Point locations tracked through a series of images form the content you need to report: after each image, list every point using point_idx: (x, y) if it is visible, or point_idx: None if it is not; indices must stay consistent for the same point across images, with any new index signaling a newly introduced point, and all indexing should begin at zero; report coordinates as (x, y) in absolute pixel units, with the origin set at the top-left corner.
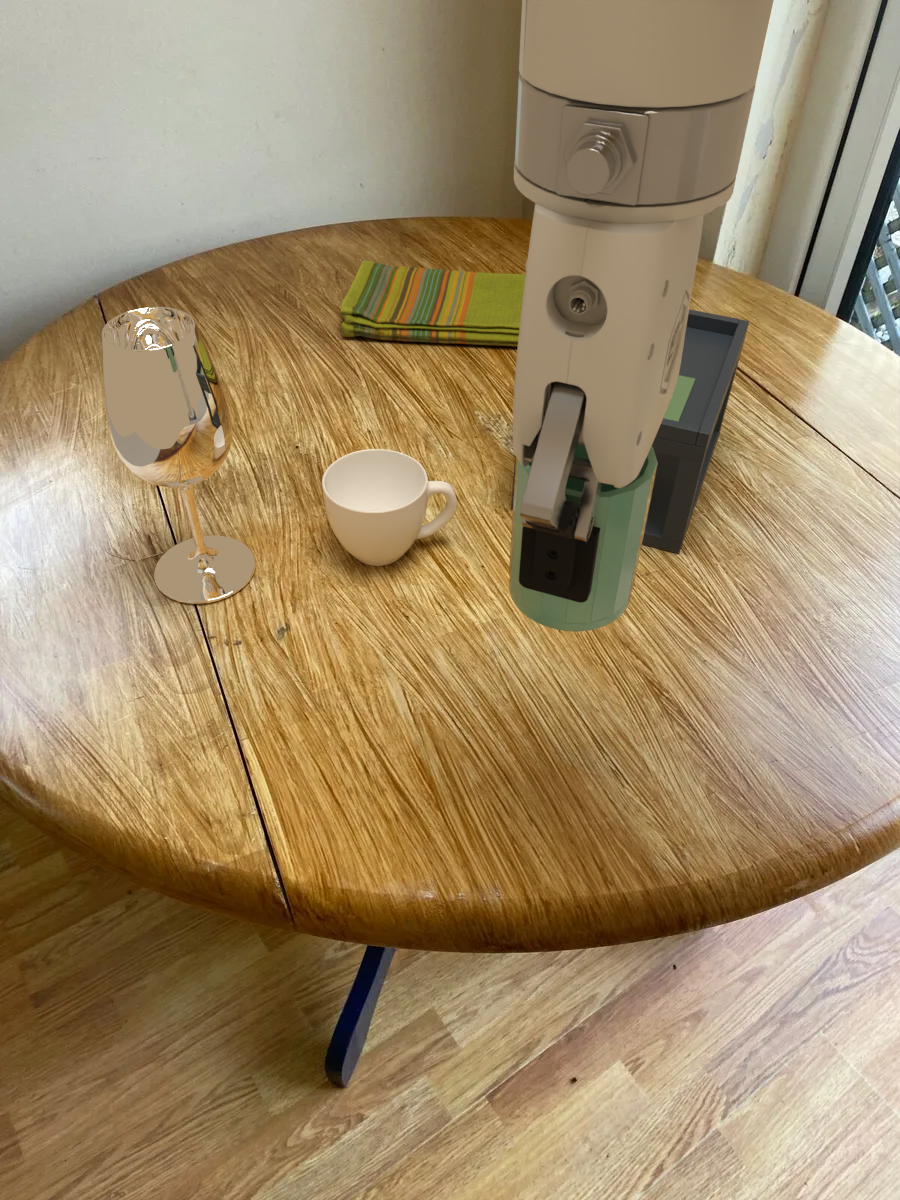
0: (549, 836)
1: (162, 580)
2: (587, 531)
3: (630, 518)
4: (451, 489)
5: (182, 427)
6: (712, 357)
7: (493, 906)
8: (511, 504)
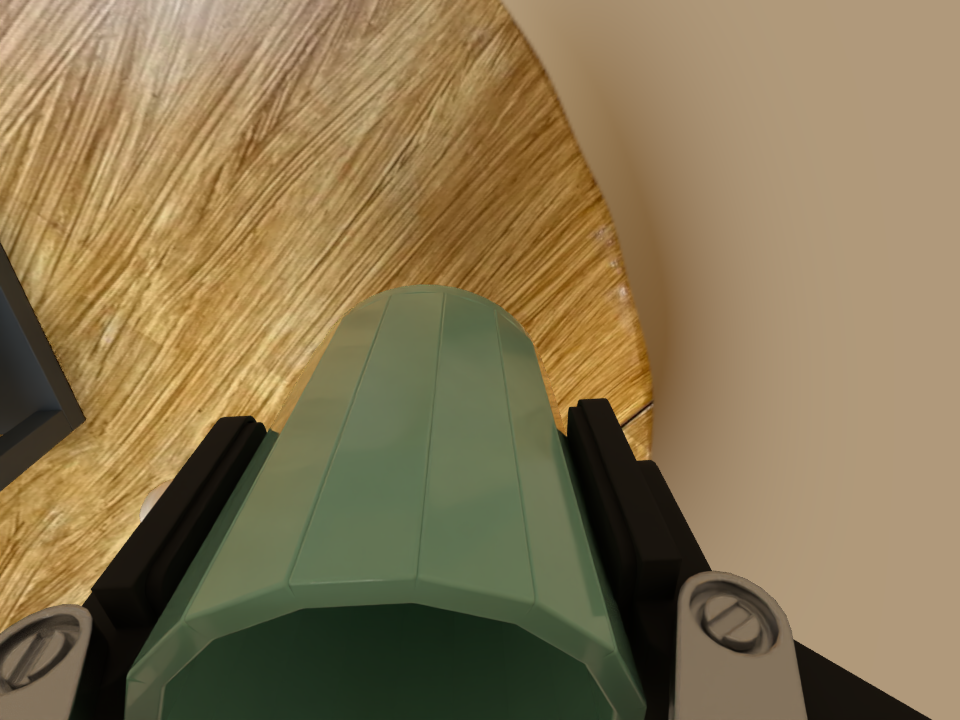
0: (518, 205)
1: None
2: (786, 629)
3: (513, 487)
4: (147, 512)
5: None
6: None
7: (615, 230)
8: (79, 425)
